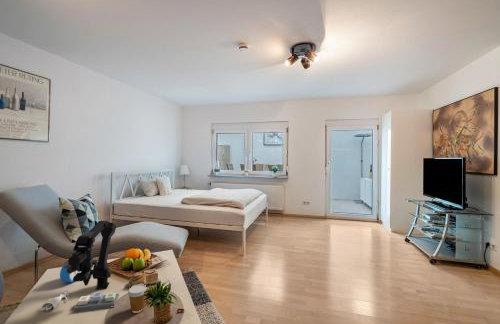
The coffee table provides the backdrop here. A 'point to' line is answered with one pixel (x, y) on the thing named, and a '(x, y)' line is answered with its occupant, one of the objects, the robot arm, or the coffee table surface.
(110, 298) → the key sage
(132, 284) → the pastry
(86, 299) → the key ivory
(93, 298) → the key blue
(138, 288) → the disposable coffee cup
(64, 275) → the alarm clock
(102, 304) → the keypad
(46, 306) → the woman figurine
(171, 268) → the coffee table surface
